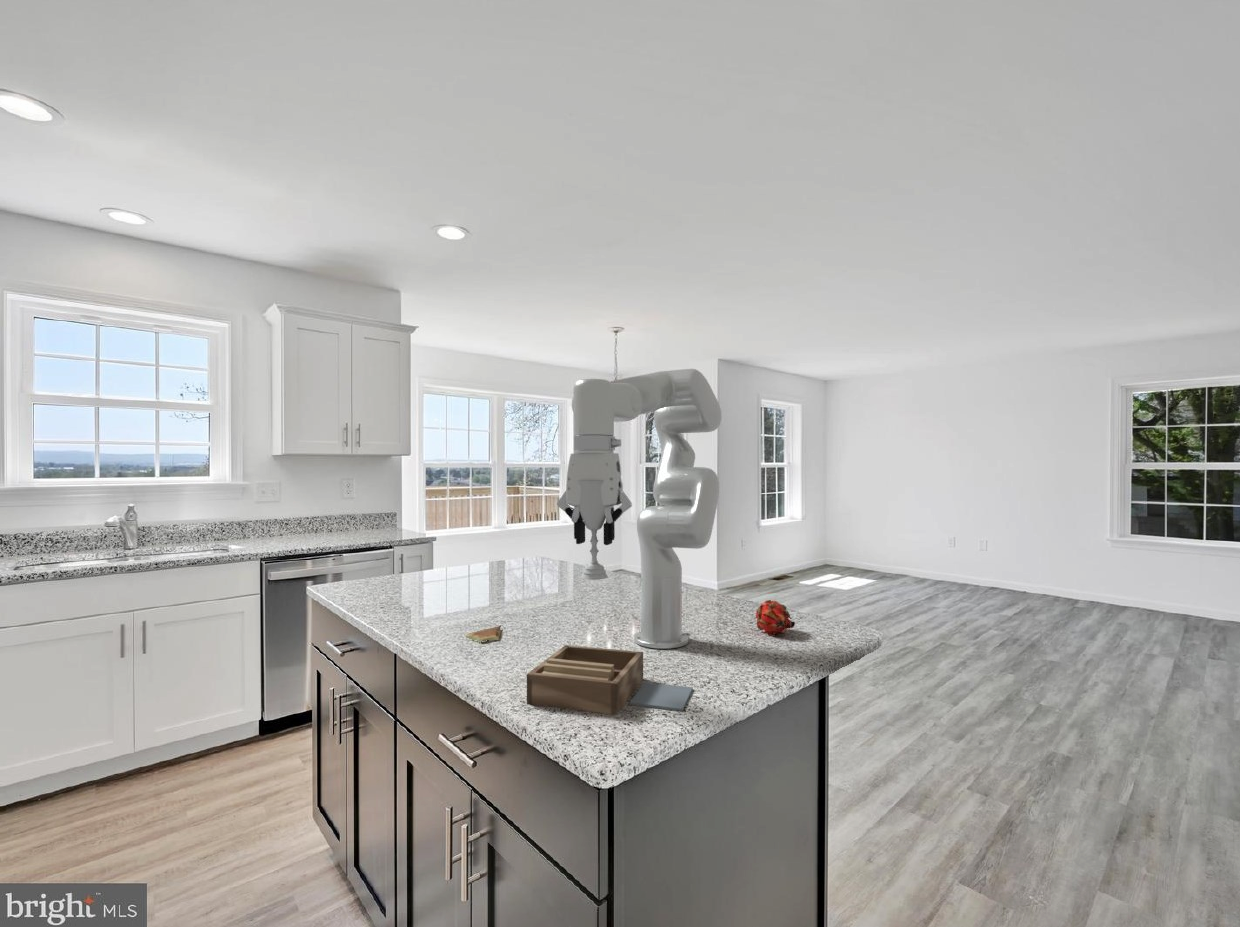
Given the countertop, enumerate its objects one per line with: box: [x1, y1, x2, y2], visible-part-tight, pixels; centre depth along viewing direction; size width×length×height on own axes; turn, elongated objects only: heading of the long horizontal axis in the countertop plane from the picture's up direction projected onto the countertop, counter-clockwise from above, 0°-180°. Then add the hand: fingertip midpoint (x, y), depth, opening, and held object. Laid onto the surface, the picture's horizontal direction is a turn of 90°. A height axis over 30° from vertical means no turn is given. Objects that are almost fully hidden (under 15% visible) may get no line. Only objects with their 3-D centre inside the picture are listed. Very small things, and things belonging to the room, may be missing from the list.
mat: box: [629, 681, 694, 712], centre depth 102 cm, size 10×9×1 cm
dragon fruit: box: [755, 599, 796, 637], centre depth 143 cm, size 8×8×12 cm
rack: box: [526, 644, 644, 716], centre depth 105 cm, size 18×16×5 cm
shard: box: [464, 625, 502, 642], centre depth 140 cm, size 11×8×2 cm
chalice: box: [578, 481, 609, 581], centre depth 108 cm, size 7×7×18 cm
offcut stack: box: [542, 657, 614, 681], centre depth 100 cm, size 4×12×6 cm, turn 73°
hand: (594, 542), depth 108 cm, fingers closed on chalice, 4 cm apart
